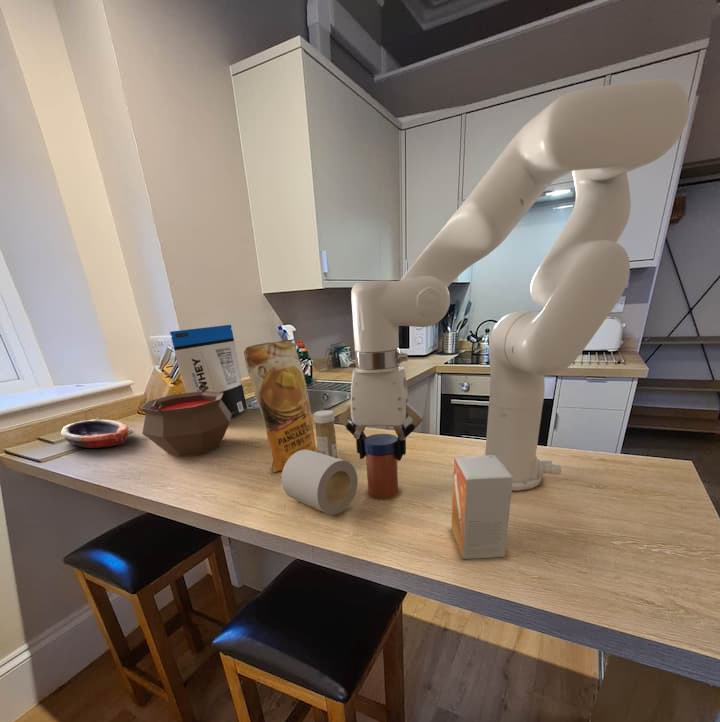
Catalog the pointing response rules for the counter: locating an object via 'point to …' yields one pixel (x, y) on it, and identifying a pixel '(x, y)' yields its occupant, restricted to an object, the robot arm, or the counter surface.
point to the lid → (380, 444)
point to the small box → (481, 506)
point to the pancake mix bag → (281, 398)
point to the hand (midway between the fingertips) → (381, 456)
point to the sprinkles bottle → (325, 432)
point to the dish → (95, 433)
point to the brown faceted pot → (187, 422)
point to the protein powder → (210, 364)
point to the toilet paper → (320, 481)
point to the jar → (382, 475)
